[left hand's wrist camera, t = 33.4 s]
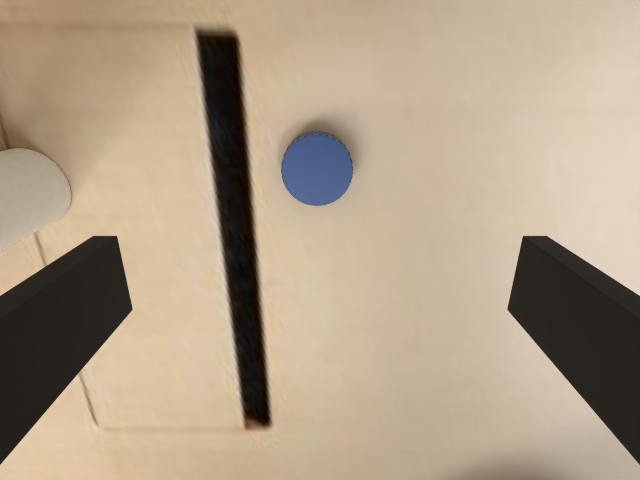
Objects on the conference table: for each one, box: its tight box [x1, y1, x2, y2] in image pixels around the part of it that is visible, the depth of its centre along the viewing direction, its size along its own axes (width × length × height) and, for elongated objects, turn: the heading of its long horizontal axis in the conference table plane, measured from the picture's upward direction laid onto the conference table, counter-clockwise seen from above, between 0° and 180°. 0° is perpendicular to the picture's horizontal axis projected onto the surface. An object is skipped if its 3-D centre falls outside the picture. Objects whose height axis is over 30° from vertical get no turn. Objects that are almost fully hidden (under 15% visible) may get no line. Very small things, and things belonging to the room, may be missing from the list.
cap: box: [281, 131, 353, 206], centre depth 24 cm, size 4×4×2 cm
